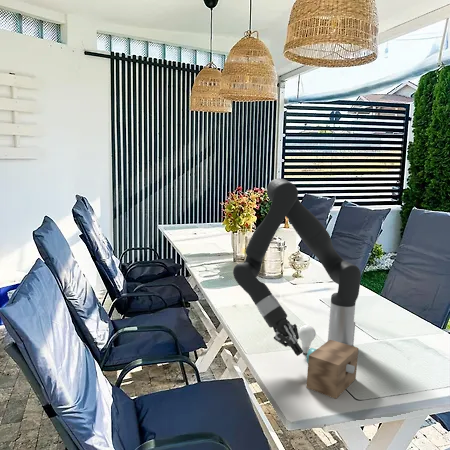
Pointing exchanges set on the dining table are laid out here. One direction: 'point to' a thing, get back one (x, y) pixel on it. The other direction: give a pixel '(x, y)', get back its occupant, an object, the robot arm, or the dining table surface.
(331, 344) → the mount
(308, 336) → the lightbulb
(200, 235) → the dining table surface
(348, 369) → the knob
